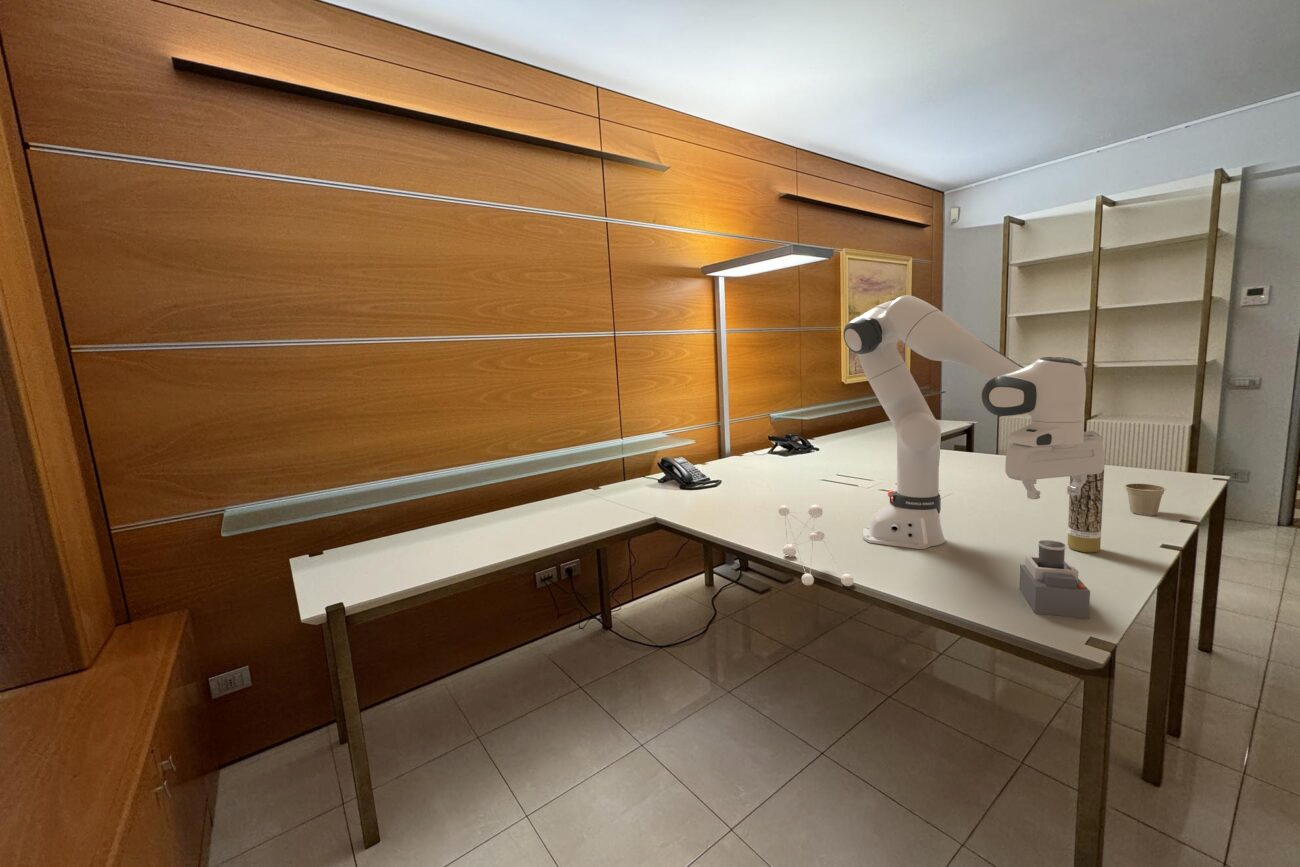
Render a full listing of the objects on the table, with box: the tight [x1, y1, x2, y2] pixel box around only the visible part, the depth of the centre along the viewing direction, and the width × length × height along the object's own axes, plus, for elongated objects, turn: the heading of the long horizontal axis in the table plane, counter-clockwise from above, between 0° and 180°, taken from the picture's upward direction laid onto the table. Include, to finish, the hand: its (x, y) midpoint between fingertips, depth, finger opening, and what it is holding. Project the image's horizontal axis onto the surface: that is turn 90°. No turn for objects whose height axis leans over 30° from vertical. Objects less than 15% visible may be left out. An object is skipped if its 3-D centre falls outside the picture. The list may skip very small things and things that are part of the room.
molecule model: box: [778, 504, 854, 587], centre depth 135 cm, size 14×25×18 cm, turn 8°
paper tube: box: [1067, 458, 1105, 554], centre depth 136 cm, size 7×7×25 cm
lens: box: [1037, 539, 1066, 569], centre depth 110 cm, size 5×5×7 cm
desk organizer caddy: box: [1018, 555, 1091, 620], centre depth 110 cm, size 12×9×8 cm
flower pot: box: [1124, 482, 1167, 517], centre depth 161 cm, size 9×9×9 cm
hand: (1053, 496), depth 109 cm, fingers open, 8 cm apart
